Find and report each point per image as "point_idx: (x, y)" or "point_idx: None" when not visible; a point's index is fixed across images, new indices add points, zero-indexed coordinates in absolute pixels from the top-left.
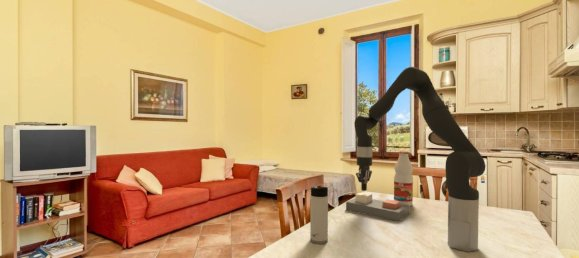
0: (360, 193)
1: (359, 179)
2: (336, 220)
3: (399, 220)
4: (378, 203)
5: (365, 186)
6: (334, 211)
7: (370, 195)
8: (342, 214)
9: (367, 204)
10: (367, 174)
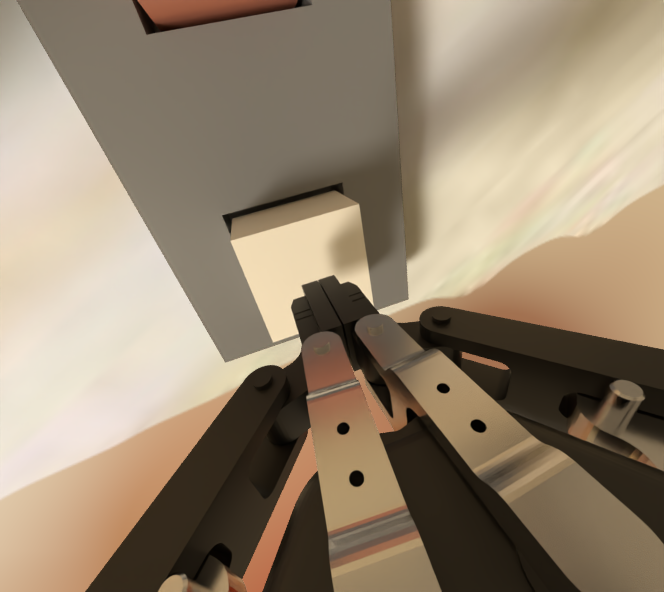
0: None
1: (480, 375)
2: (559, 165)
3: None
4: (241, 120)
5: (345, 297)
6: (445, 283)
7: (274, 226)
8: (462, 224)
9: (356, 164)
10: (390, 458)
